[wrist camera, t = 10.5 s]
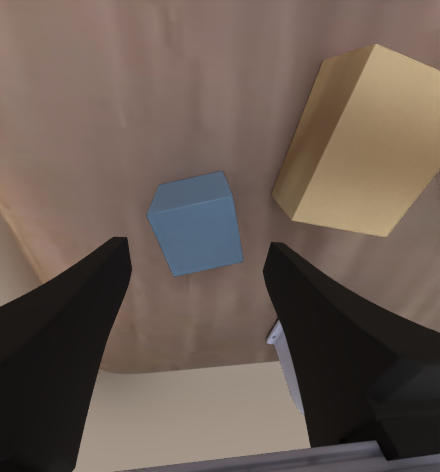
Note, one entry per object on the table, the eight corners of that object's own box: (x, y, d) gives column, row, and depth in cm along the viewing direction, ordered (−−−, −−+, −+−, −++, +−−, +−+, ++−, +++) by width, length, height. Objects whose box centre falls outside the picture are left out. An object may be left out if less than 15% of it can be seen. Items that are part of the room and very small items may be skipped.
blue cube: (232, 225, 17) (244, 262, 13) (178, 237, 17) (173, 277, 13) (222, 170, 14) (232, 195, 10) (158, 184, 14) (145, 214, 10)
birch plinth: (348, 210, 17) (386, 237, 14) (270, 195, 15) (291, 220, 12) (419, 96, 13) (498, 94, 10) (322, 59, 11) (376, 42, 8)
